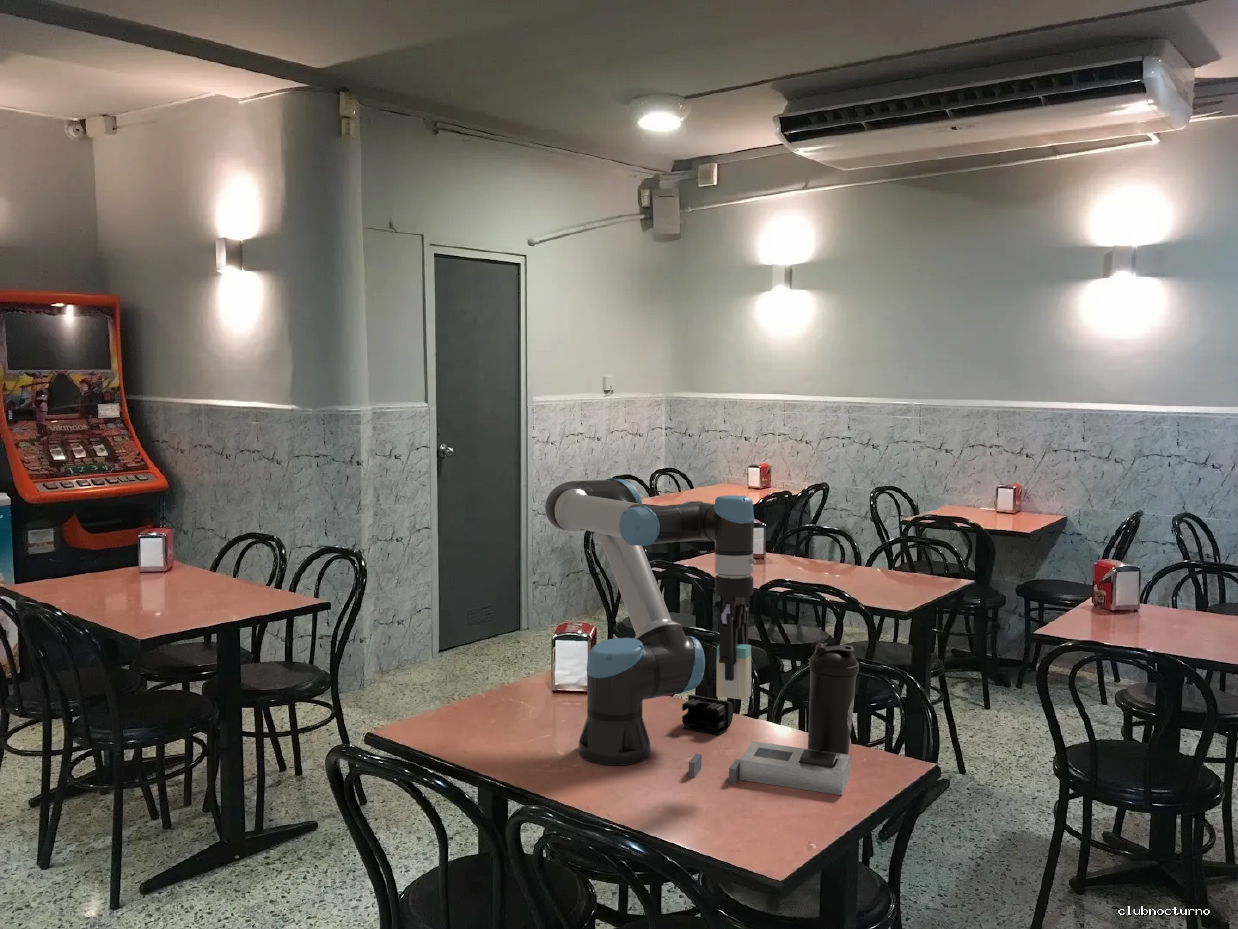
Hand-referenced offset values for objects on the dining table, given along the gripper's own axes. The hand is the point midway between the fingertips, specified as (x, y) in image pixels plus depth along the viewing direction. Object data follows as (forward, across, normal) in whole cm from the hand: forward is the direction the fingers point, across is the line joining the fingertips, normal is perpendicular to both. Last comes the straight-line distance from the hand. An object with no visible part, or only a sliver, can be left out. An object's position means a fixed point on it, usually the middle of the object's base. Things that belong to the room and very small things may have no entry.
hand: (733, 692), depth 194 cm
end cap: (+17, +25, +14) cm, 33 cm away
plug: (+1, 0, 0) cm, 1 cm away
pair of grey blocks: (+17, 0, +4) cm, 18 cm away
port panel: (+17, +6, -11) cm, 21 cm away
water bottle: (+17, +22, -14) cm, 31 cm away
